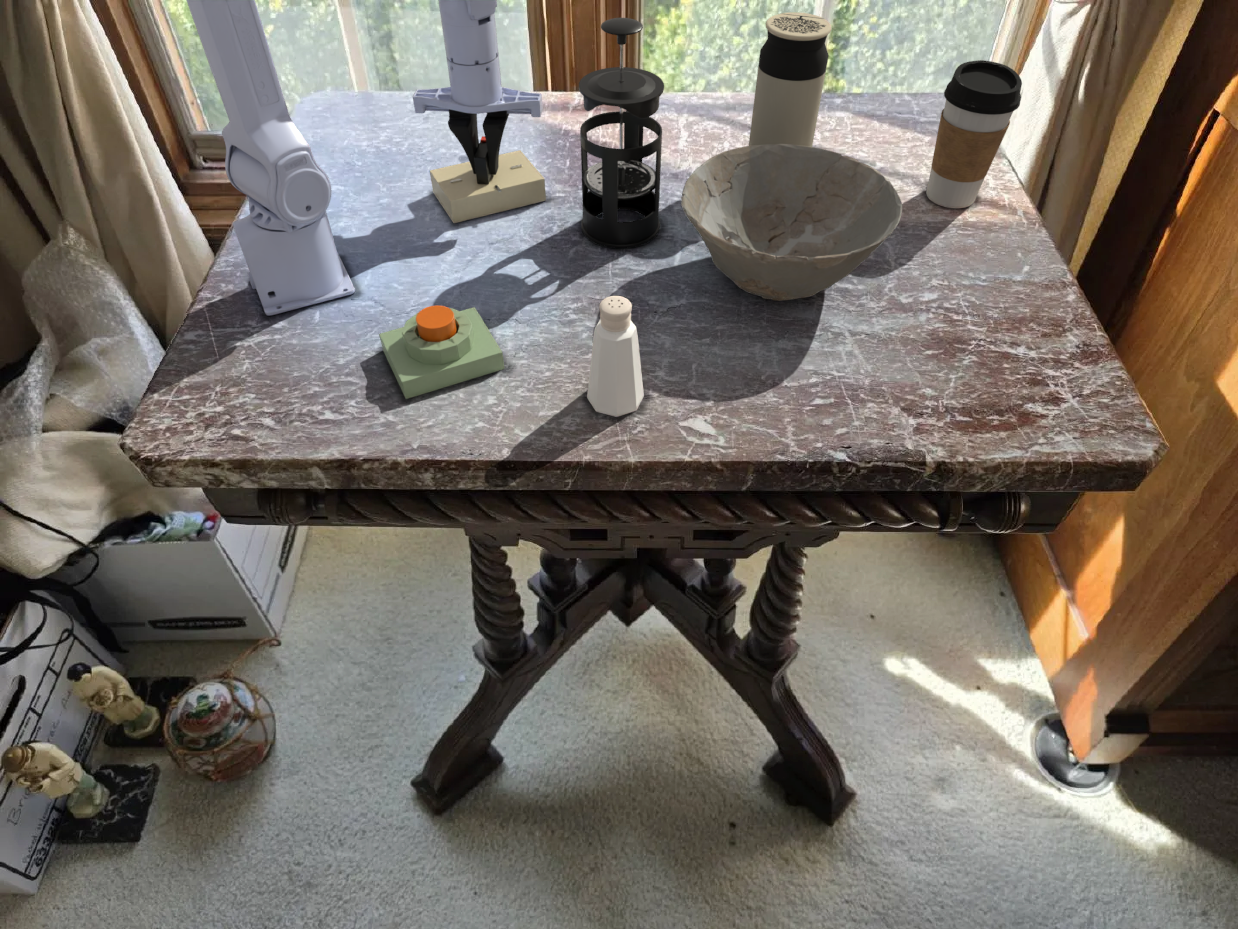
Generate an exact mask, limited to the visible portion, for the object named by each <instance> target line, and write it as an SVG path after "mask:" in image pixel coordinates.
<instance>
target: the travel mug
mask: <svg viewBox="0 0 1238 929" xmlns="http://www.w3.org/2000/svg"><path fill="white" fill-rule="evenodd" d="M765 29H766V30H767V38H766V40H765V42H764V43H763V45H762V47H761V48H760V50H759V58H758V66H757V73H756V82H755V89H754V98H753V100H754V101H753V106H752V116H751V123H750V131H749V140H748V146H750V145H772V144H791V145H800V146H808V147H813V144H814V140H815V132H816V128H817V122H818V116H819V112H820V106H821V101H822V96H823V89H824V83H825V78H826V71H827V67H828V61H829V52H828V48H827V45H826V41H827V38H828V35H829V34H830V33H831V31H832V24H831V23H830V22H829V21H828V20H827V19H825V18H824V17H822V16H819V15H818V14H817V15H816V14H813V13H809V12H801V11H799V12H798V11H789V12H782V13H776V14H774V15H772V16H770V17H768V18H767V20H766V22H765Z"/></svg>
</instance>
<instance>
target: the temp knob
mask: <svg viewBox="0 0 1238 929" xmlns="http://www.w3.org/2000/svg"><path fill="white" fill-rule="evenodd" d="M474 162H475V169H476V177H477V184H489V182H490V179H491V176H492V175H490V170H489V161H488V149H487V143H486V138H485V135H484V136H481V138H480V140H479V146H478V148H477V151H476V154H475V156H474Z"/></svg>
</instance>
